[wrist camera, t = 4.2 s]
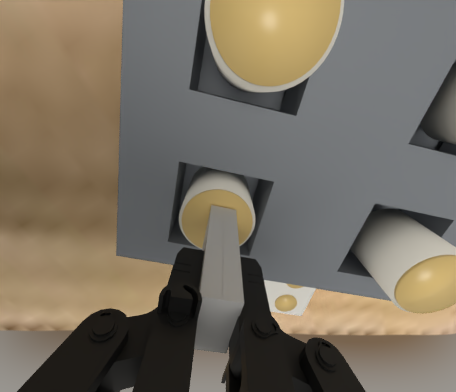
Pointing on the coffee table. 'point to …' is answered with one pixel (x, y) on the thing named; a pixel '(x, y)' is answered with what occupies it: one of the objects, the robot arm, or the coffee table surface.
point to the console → (288, 138)
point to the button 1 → (215, 203)
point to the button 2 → (271, 40)
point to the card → (287, 297)
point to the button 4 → (443, 111)
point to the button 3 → (407, 261)
